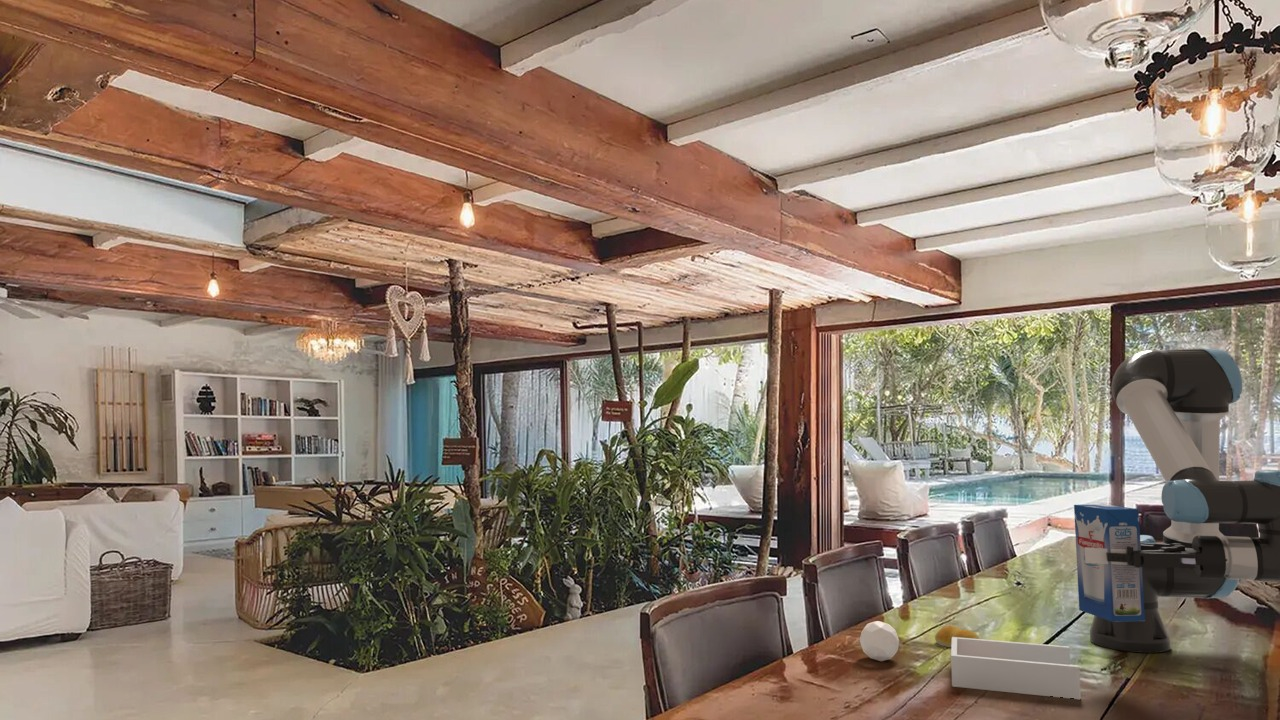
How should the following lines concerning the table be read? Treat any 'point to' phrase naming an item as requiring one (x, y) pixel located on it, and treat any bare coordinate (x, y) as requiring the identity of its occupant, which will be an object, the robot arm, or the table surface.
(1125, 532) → the milk carton
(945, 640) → the bread roll
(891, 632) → the geometric ball
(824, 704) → the table surface
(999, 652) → the plastic channel
